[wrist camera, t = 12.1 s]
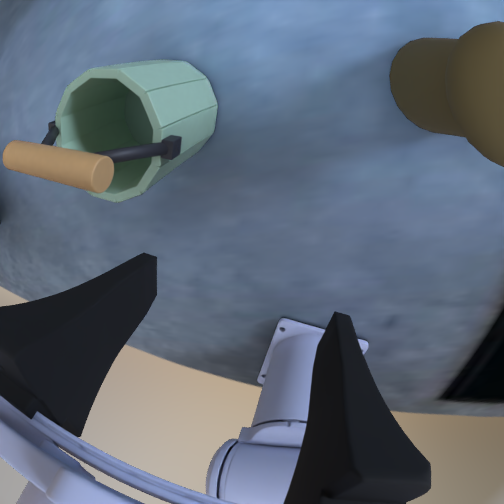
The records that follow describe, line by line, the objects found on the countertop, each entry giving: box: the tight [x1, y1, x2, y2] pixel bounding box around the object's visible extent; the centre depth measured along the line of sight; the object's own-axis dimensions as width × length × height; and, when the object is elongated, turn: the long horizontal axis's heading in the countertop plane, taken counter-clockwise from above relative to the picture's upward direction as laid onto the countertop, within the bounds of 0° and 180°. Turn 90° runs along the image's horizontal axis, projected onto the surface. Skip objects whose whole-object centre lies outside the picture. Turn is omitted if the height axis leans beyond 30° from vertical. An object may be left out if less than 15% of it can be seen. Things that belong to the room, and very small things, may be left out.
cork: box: [390, 21, 504, 167], centre depth 10 cm, size 6×6×11 cm
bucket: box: [3, 59, 218, 203], centre depth 15 cm, size 7×8×11 cm
